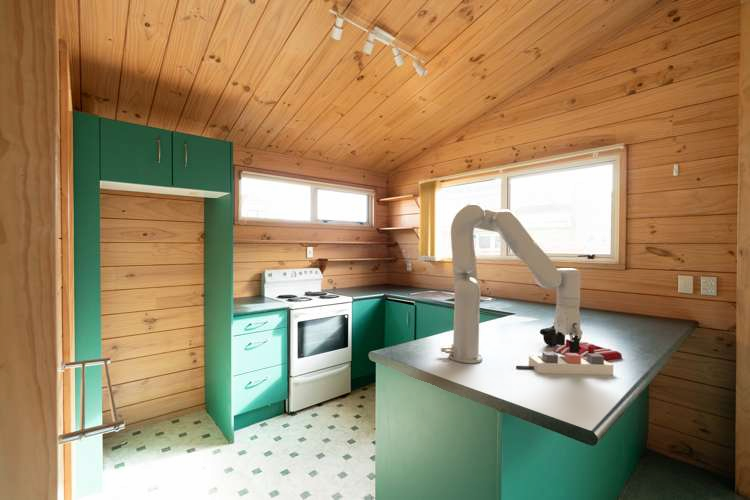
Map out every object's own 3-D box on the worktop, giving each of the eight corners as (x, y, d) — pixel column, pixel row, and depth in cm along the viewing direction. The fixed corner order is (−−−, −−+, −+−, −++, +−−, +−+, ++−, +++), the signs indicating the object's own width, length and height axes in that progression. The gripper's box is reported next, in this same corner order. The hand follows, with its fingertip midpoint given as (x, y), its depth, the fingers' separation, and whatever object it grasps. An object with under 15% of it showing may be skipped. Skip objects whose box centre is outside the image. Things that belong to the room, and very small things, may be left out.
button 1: (546, 364, 125) (546, 355, 125) (542, 361, 129) (542, 352, 128) (557, 364, 125) (558, 355, 125) (553, 361, 128) (553, 352, 128)
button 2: (569, 364, 125) (569, 355, 125) (564, 361, 128) (564, 352, 128) (580, 365, 125) (581, 355, 125) (575, 362, 128) (576, 353, 128)
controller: (563, 345, 161) (564, 323, 161) (547, 349, 154) (547, 326, 154) (554, 343, 165) (554, 321, 164) (537, 346, 158) (538, 324, 158)
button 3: (592, 365, 125) (592, 356, 125) (586, 362, 128) (587, 353, 128) (603, 365, 125) (604, 356, 125) (598, 362, 128) (598, 353, 128)
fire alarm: (552, 338, 151) (586, 335, 159) (552, 352, 151) (585, 348, 159) (588, 349, 136) (623, 345, 144) (587, 365, 136) (622, 359, 144)
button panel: (520, 372, 125) (521, 361, 125) (512, 364, 133) (512, 354, 133) (613, 375, 124) (613, 364, 124) (599, 367, 132) (599, 356, 132)
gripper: (546, 298, 140) (545, 342, 140) (570, 306, 122) (569, 355, 123) (566, 298, 139) (565, 342, 140) (592, 306, 122) (591, 356, 122)
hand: (567, 348), depth 131 cm, fingers open, 9 cm apart
